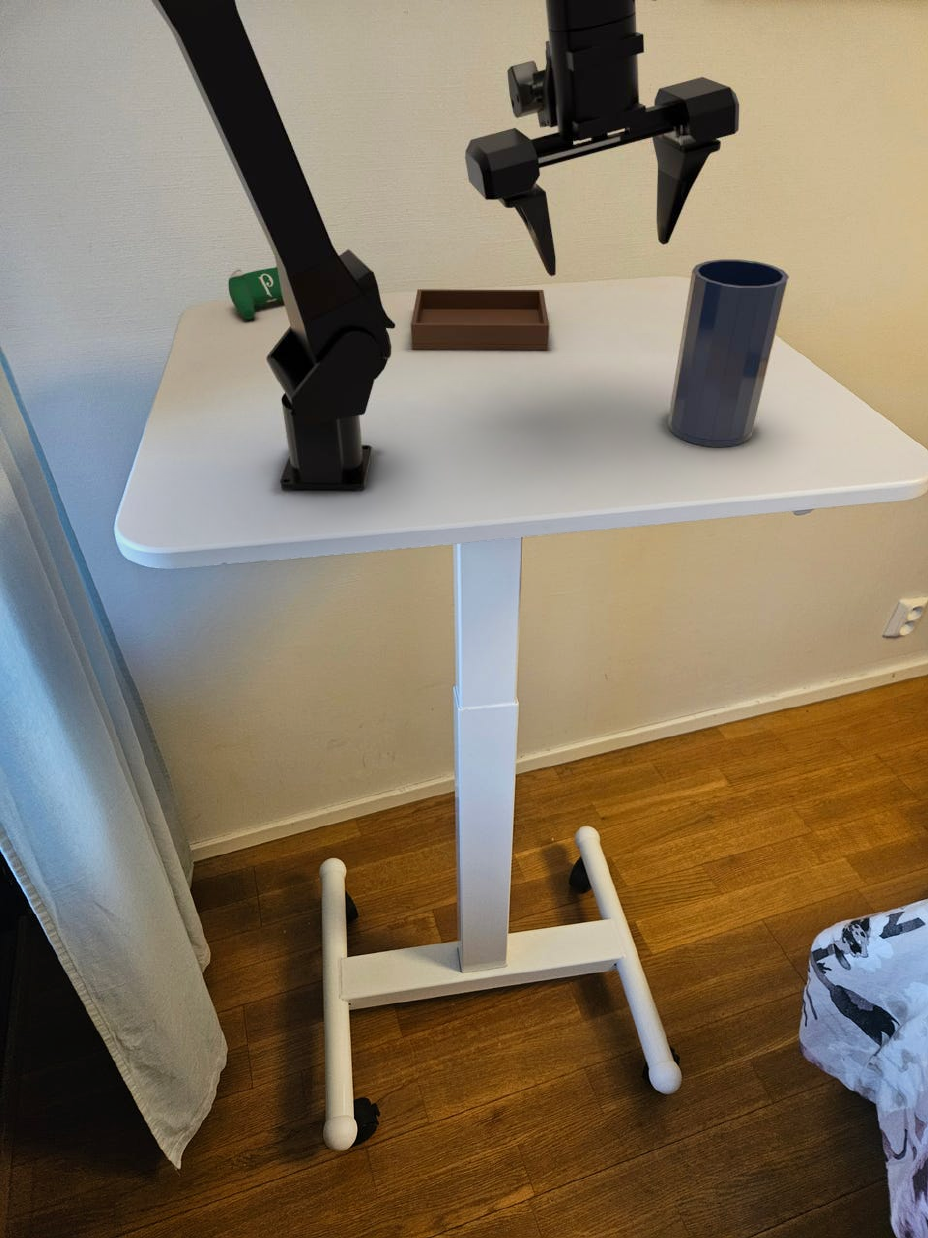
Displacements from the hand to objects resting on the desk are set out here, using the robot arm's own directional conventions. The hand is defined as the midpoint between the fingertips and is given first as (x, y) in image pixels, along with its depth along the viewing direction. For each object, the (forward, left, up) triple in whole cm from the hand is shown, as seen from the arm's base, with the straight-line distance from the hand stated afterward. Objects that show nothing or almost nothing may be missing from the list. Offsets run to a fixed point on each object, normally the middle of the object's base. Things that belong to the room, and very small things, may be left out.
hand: (607, 258), depth 66 cm
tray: (+22, +10, -14) cm, 27 cm away
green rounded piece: (+29, +34, -14) cm, 46 cm away
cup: (-1, -10, -14) cm, 17 cm away
